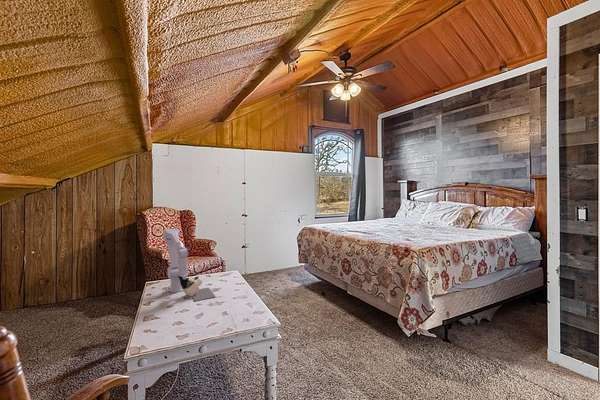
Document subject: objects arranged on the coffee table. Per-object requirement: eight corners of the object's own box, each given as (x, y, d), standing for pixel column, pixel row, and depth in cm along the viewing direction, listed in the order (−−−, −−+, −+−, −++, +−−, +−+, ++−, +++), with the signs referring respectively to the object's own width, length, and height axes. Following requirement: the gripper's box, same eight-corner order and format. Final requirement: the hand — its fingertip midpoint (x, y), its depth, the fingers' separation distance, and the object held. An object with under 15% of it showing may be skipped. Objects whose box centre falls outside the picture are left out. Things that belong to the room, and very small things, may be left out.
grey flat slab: (189, 291, 194) (189, 291, 193) (208, 288, 200) (208, 287, 200) (194, 301, 176) (194, 300, 176) (215, 297, 183) (215, 296, 183)
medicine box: (180, 287, 185) (194, 274, 193) (185, 294, 188) (199, 281, 196) (186, 289, 181) (200, 276, 189) (191, 297, 184) (205, 283, 192)
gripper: (175, 265, 189) (175, 285, 189) (177, 270, 176) (178, 291, 177) (186, 264, 193) (186, 283, 193) (189, 268, 180) (190, 289, 180)
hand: (183, 287), depth 185 cm, fingers open, 6 cm apart
